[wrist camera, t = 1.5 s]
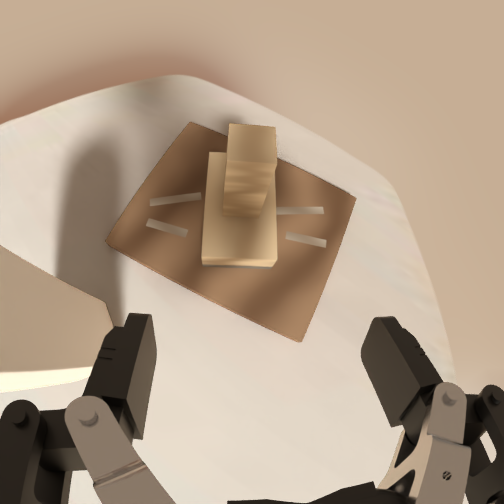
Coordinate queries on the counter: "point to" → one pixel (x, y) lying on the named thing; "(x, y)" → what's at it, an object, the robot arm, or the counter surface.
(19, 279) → the milk
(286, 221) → the board
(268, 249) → the block
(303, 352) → the counter surface
